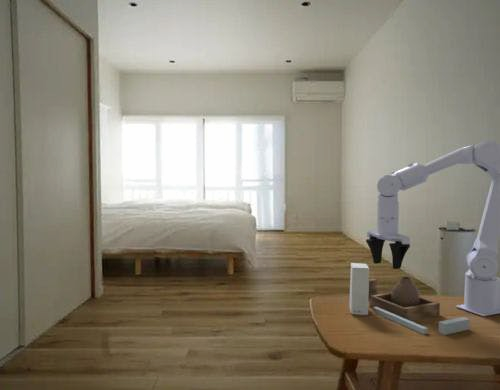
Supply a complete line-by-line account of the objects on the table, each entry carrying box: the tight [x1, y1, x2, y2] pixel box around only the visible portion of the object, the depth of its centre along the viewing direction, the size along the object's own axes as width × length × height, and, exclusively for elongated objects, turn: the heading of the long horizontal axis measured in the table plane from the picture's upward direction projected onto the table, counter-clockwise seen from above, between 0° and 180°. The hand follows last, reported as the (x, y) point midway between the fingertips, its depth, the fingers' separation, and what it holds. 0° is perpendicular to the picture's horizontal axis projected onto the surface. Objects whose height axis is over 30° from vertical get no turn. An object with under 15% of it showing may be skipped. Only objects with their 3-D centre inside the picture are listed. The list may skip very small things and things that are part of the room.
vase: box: [391, 276, 421, 308], centre depth 104 cm, size 7×7×9 cm
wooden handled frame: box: [369, 278, 441, 321], centre depth 108 cm, size 12×20×5 cm, turn 25°
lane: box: [372, 307, 470, 336], centre depth 98 cm, size 12×18×2 cm
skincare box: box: [348, 262, 370, 316], centre depth 104 cm, size 6×4×12 cm
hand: (386, 265), depth 114 cm, fingers open, 7 cm apart
